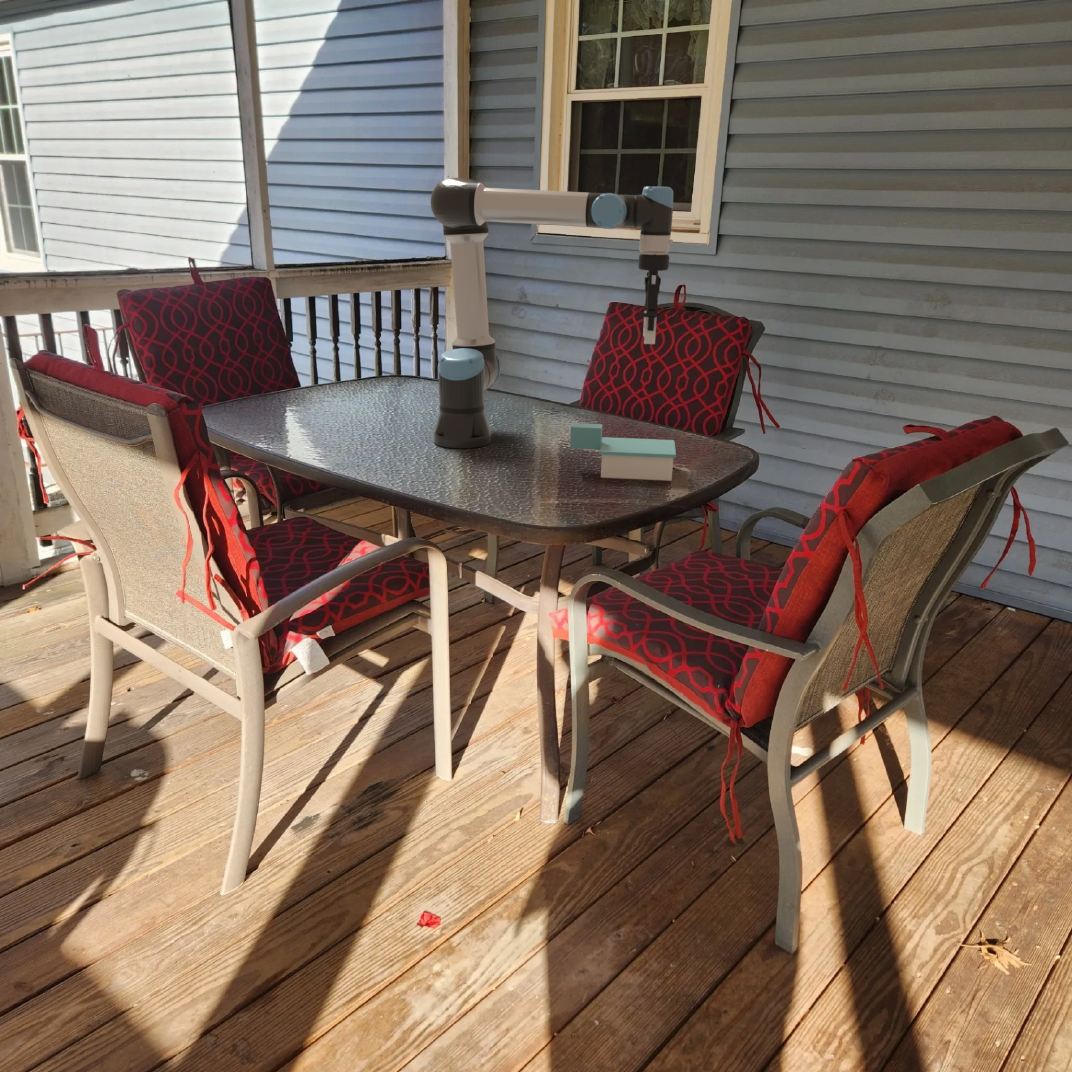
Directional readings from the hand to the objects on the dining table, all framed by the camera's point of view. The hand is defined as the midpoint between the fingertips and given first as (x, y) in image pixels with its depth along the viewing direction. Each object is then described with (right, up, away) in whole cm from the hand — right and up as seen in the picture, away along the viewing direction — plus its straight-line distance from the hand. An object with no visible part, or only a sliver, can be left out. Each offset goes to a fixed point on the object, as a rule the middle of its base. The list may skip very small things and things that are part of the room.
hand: (648, 340), depth 220 cm
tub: (-6, -36, -21) cm, 42 cm away
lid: (-9, -30, -22) cm, 39 cm away
